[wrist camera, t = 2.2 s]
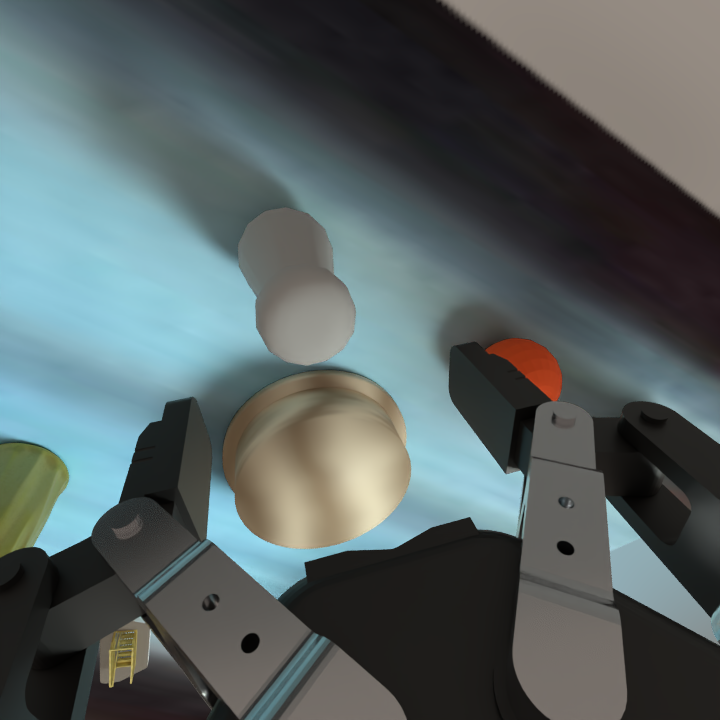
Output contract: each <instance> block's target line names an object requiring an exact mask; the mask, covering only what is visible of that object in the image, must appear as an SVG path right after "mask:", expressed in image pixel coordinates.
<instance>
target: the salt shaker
mask: <svg viewBox="0 0 720 720" xmlns="http://www.w3.org/2000/svg"><path fill="white" fill-rule="evenodd" d="M238 259H239V267H240V269H241V271H242V273H243V275H244V277H245V279H246V281H247V283H248V284H249V286H250V288H251V289H252V291H253V292H254V293H255V295H256V296H257V299H256V305H255V308H256V328H257V330H258V332H259V334H260V335H261V337H262V339H263V341H264V343H265V345H266V346H267V348H268V350H269V351H270V352H271V353H273V354H274V355H276V356H278V357H279V358H281V359H282V360H284V361H285V362H289V363H294V364H300V365H306V366H307V365H311V364H315V363H319V362H323V361H327V360H328V359H330V358H331V357H333V356H334V355H336V354H337V353H339V352H340V351H341V350H343V349H344V347H345V346H346V344H347V342H348V341H349V339H350V337H351V336H352V334H353V332H354V325H355V316H356V310H355V305H354V303H353V300H352V298H351V296H350V293H349V291H348V288H347V287H346V285H345V284H344V283H343V282H342V281H341V280H340V279H338V278H337V277H336V276H335V275H334V267H333V248H332V246H331V243H330V241H329V239H328V236H327V234H326V231H325V229H324V228H323V227H322V226H321V225H320V224H319V223H318V222H317V221H316V220H315V219H314V218H312V217H311V216H310V215H309V214H307V213H304V212H301V211H297V210H294V209H291V208H287V207H284V208H278V209H273V210H267V211H264V212H263V213H261V214H260V215H259V216H258V217H256V218H255V219H254V220H252V221H251V222H250V223H248V225H247V226H246V229H245V231H244V233H243V235H242V237H241V239H240V241H239V243H238Z"/></svg>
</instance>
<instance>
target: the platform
mask: <svg viewBox="0 0 720 720" xmlns="http://www.w3.org/2000/svg"><path fill="white" fill-rule="evenodd" d="M126 632H127V634H125V633H126ZM128 632H129V633H128ZM130 632H132V633H130ZM133 632H134V633H133ZM150 633H151V629H150V628H149V627H148V626H147V624H146V623H145V622H144V621H143V619H142V618H141V617H138V618H137V619H135V620H133V621H131V622H130V623H128V624H126V625H125V626H123V627H121V628H120V629H118V630H116V631H114V632H113V633H111V634H109V635H108V636H106V637H104V638H102V639H101V640H100V682H101V683H109V687H113V683H114V682H119V681H121V680H123V679H125V678H127V677H129V676H131V678H130V684H132V679H133V674H135V673H137V672H139V671H141V670H143V669H145V668H146V667H147V665H148V659H149V646H150ZM124 638H126V639H127V638H128V640H124ZM129 638H133V639H129ZM123 644H127V646H125V645H124V646H123ZM128 644H129V645H128ZM130 644H132V645H130ZM124 650H132V651H128V652H122V651H124ZM120 651H121V652H120ZM124 656H131V657H129V658H121V657H124ZM119 657H120V659H119Z"/></svg>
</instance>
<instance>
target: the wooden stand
mask: <svg viewBox="0 0 720 720" xmlns="http://www.w3.org/2000/svg"><path fill="white" fill-rule="evenodd" d="M405 446H406V427H405V423H404V419H403V417H402V414H401V412H400V410H399V408H398V407H397V405H396V403H395V401H394V400H393V399H392V397H391V396H390V395H389V394H388V393H387V392H386V391H385V390H384V389H383V388H382V387H381V386H379V385H378V384H376V383H375V382H373V381H371V380H369V379H367V378H366V377H363V376H360V375H357V374H354V373H350V372H345V371H337V370H315V371H308V372H302V373H298V374H294V375H291V376H288V377H285V378H283V379H280V380H278V381H276V382H274V383H272V384H270V385H268V386H266V387H265V388H263V389H262V390H260V391H259V392H257V393H256V394H255V395H253V396H252V397H251V398H250V399H249V400H247V401H246V402H245V404H244V405H243V406H242V407H241V408H240V409H239V410H238V412H237V413H236V414H235V416H234V417H233V419H232V421H231V423H230V425H229V427H228V429H227V432H226V435H225V438H224V444H223V456H222V459H223V470H224V474H225V477H226V479H227V482H228V484H229V486H230V487H231V489H232V490H233V492H234V493H235V505H236V509H237V512H238V514H239V517H240V519H241V520H242V522H243V523H244V525H245V526H246V527H247V528H248V529H249V530H250V531H251V532H252V533H254V534H255V535H256V536H258V537H259V538H261V539H263V540H265V541H267V542H270V543H272V544H275V545H279V546H283V547H288V548H296V549H313V548H322V547H328V546H332V545H337V544H340V543H343V542H346V541H349V540H351V539H354V538H356V537H358V536H360V535H362V534H364V533H366V532H368V531H369V530H371V529H373V528H374V527H376V526H377V525H378V524H380V523H381V522H382V521H383V520H385V519H386V518H387V517H388V516H389V515H390V514H391V513H392V512H393V511H394V509H395V508H396V507H397V506H398V504H399V503H400V502H401V500H402V498H403V497H404V495H405V493H406V490H407V488H408V485H409V481H410V477H411V463H410V458H409V455H408V452H407V450H406V448H405Z"/></svg>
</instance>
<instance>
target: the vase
mask: <svg viewBox="0 0 720 720" xmlns="http://www.w3.org/2000/svg"><path fill="white" fill-rule="evenodd" d="M68 481H69V473H68V470H67V467H66V465H65V464H64V462H63V461H62V460H61V459H60V458H59V457H58V456H56V455H55V454H54V453H52V452H50V451H49V450H47V449H44V448H42V447H39V446H35V445H31V444H25V443H5V444H0V558H1V557H2V556H4V555H6V554H8V553H10V552H13V551H15V550H18V549H22V548H27V547H33V546H34V544H35V542H36V540H37V538H38V536H39V534H40V533H41V531H42V529H43V527H44V525H45V523H46V522H47V519H48V517H49V515H50V513H51V511H52V508H53V506H54V504H55V502H56V500H57V498H58V497H59V495H60V494H61V493H62V492H63V491H64V489H65V488H66V486H67V484H68Z"/></svg>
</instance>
